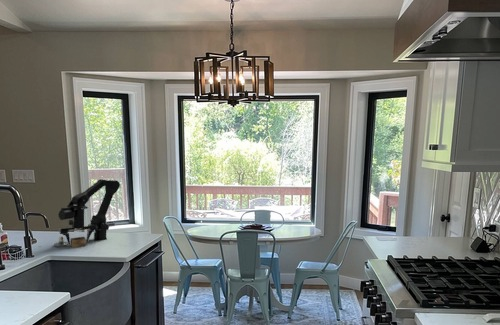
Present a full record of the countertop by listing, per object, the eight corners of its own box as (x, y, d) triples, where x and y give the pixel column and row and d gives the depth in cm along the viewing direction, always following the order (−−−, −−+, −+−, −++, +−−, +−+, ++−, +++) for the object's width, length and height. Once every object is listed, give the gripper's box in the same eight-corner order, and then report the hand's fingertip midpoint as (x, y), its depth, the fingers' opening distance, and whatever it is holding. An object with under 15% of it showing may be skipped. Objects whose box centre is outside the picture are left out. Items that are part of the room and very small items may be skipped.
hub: (67, 242, 178) (67, 234, 178) (68, 245, 173) (68, 237, 173) (53, 244, 174) (53, 236, 174) (54, 247, 168) (54, 239, 168)
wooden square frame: (83, 243, 179) (83, 236, 179) (85, 245, 173) (85, 239, 173) (70, 244, 175) (70, 238, 175) (72, 247, 169) (72, 241, 169)
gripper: (93, 213, 186) (93, 237, 186) (58, 216, 174) (58, 242, 175) (97, 216, 177) (96, 241, 177) (60, 219, 166) (60, 247, 166)
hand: (78, 243), depth 174 cm, fingers open, 9 cm apart
